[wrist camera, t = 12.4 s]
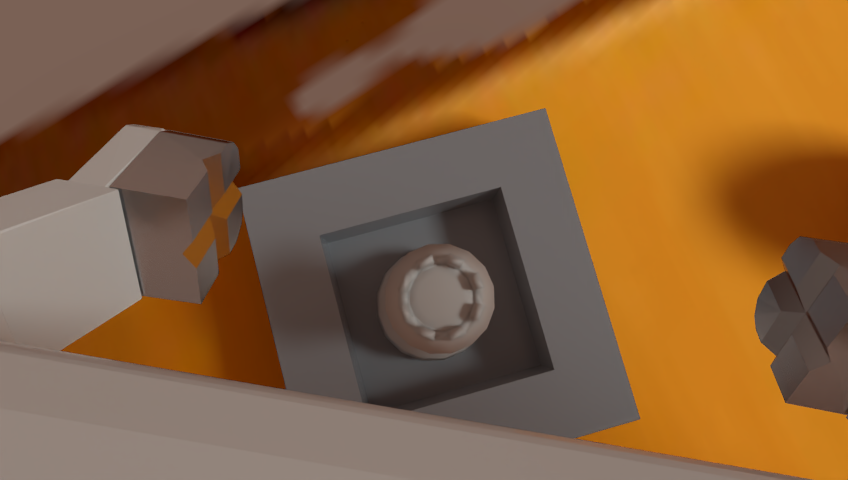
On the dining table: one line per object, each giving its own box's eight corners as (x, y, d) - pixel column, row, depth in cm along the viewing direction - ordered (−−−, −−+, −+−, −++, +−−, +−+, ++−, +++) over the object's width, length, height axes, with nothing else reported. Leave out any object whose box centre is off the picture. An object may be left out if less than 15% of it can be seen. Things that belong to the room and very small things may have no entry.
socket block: (530, 131, 27) (545, 108, 24) (613, 407, 26) (640, 419, 23) (256, 202, 27) (237, 188, 24) (327, 490, 25) (316, 513, 22)
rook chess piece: (497, 347, 26) (537, 358, 18) (388, 371, 25) (379, 394, 18) (472, 239, 26) (500, 204, 18) (366, 262, 26) (347, 236, 18)
